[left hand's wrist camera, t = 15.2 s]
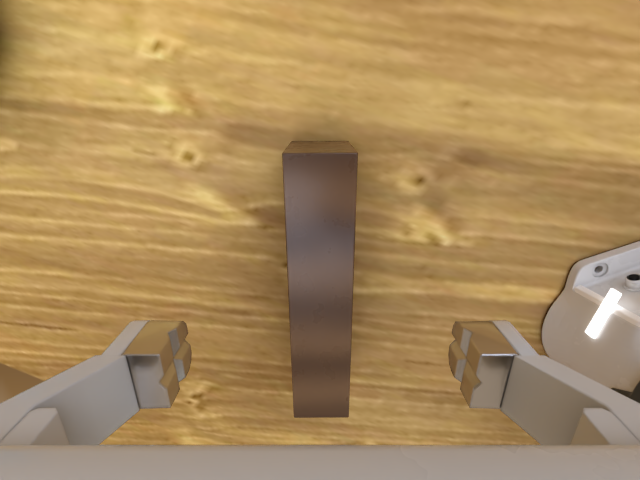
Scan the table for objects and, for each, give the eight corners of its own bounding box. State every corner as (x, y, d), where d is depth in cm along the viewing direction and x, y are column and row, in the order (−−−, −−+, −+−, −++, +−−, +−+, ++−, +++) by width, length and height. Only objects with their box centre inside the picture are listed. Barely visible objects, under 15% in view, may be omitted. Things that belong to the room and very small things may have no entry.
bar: (291, 141, 32) (282, 153, 25) (348, 141, 32) (357, 152, 25) (298, 359, 42) (293, 417, 34) (343, 358, 42) (348, 417, 34)
